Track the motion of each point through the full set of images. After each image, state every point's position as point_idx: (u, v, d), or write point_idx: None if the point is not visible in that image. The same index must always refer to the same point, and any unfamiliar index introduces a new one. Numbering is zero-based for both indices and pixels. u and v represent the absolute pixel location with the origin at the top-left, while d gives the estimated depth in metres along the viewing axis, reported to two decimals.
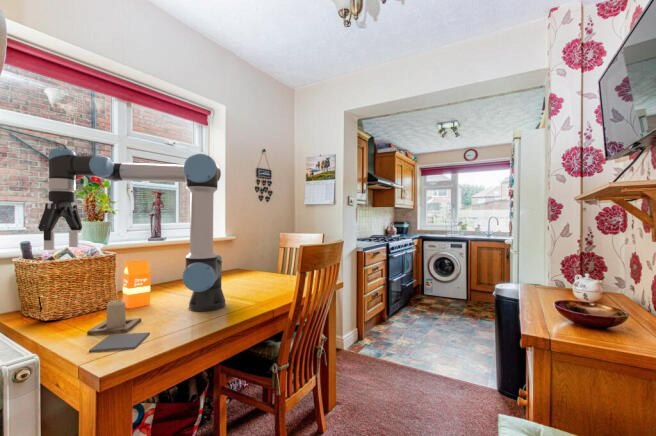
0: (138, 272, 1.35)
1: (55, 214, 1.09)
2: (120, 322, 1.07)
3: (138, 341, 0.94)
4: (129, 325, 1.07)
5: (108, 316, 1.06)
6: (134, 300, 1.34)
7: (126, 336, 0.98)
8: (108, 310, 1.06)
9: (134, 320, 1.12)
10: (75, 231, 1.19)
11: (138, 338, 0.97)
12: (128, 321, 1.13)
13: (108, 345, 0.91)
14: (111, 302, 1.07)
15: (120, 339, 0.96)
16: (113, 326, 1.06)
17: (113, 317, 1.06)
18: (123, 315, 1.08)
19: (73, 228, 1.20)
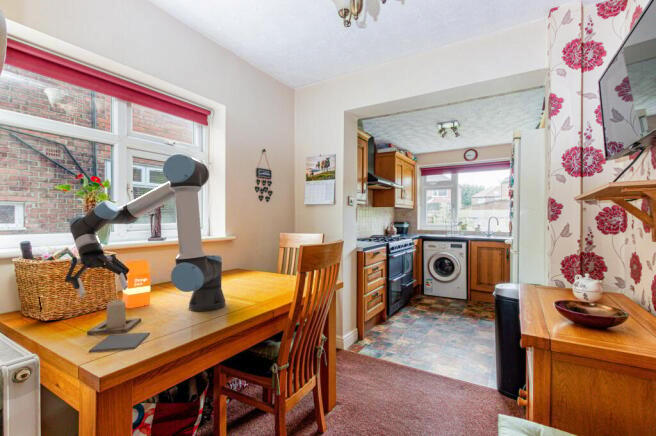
0: (138, 272, 1.35)
1: (83, 266, 1.13)
2: (120, 322, 1.07)
3: (138, 341, 0.94)
4: (129, 325, 1.07)
5: (108, 316, 1.06)
6: (134, 300, 1.34)
7: (126, 336, 0.98)
8: (108, 310, 1.06)
9: (134, 320, 1.12)
10: (120, 274, 1.19)
11: (138, 338, 0.97)
12: (128, 321, 1.13)
13: (108, 345, 0.91)
14: (111, 302, 1.07)
15: (120, 339, 0.96)
16: (113, 326, 1.06)
17: (113, 317, 1.06)
18: (123, 315, 1.08)
19: None
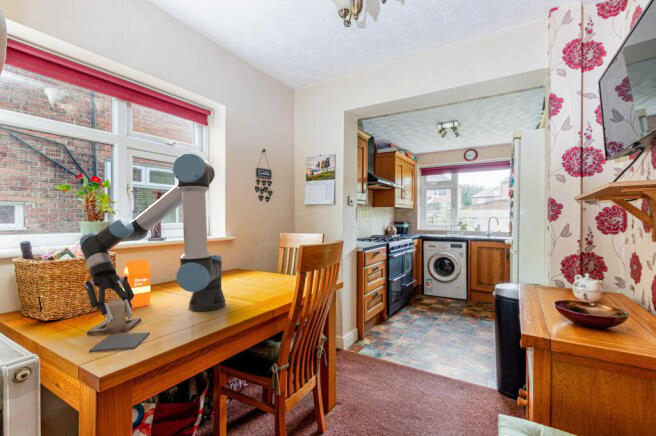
0: (138, 272, 1.35)
1: (100, 289, 1.09)
2: (120, 322, 1.07)
3: (138, 341, 0.94)
4: (129, 325, 1.07)
5: None
6: (134, 300, 1.34)
7: (126, 336, 0.98)
8: None
9: (134, 320, 1.12)
10: (124, 301, 1.11)
11: (138, 338, 0.97)
12: (128, 321, 1.13)
13: (108, 345, 0.91)
14: (111, 302, 1.07)
15: (120, 339, 0.96)
16: (113, 326, 1.06)
17: (113, 317, 1.06)
18: (123, 315, 1.08)
19: (125, 300, 1.12)
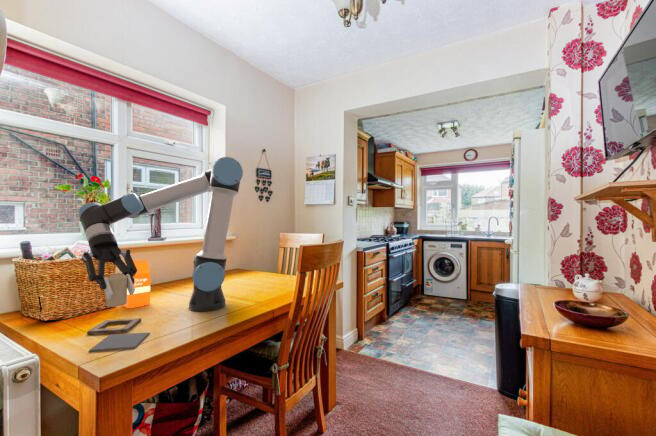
0: (138, 272, 1.35)
1: (99, 261, 0.98)
2: (120, 298, 0.96)
3: (138, 341, 0.94)
4: (129, 325, 1.07)
5: None
6: (134, 300, 1.34)
7: (126, 336, 0.98)
8: None
9: (134, 320, 1.12)
10: (126, 276, 0.99)
11: (138, 338, 0.97)
12: (128, 321, 1.13)
13: (108, 345, 0.91)
14: (111, 276, 0.96)
15: (120, 339, 0.96)
16: (113, 302, 0.95)
17: (113, 292, 0.95)
18: (124, 291, 0.97)
19: None
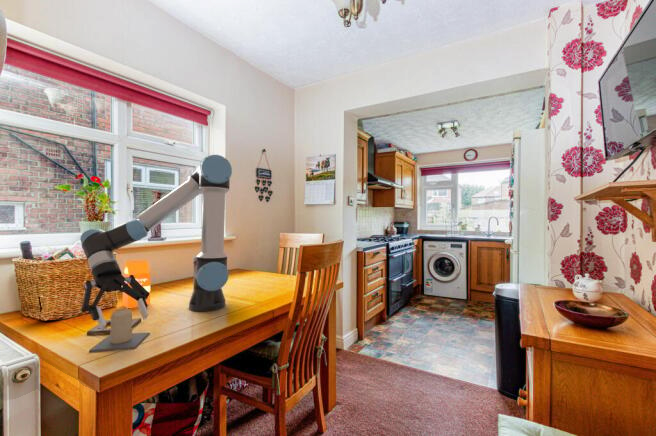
0: (138, 272, 1.35)
1: None
2: (125, 334, 0.94)
3: (138, 341, 0.94)
4: None
5: (112, 328, 0.93)
6: (134, 300, 1.34)
7: None
8: (112, 321, 0.93)
9: (134, 320, 1.12)
10: (139, 300, 1.00)
11: (138, 338, 0.97)
12: None
13: (108, 345, 0.91)
14: (116, 312, 0.94)
15: None
16: (118, 339, 0.92)
17: (118, 329, 0.93)
18: (129, 326, 0.95)
19: (139, 299, 1.02)
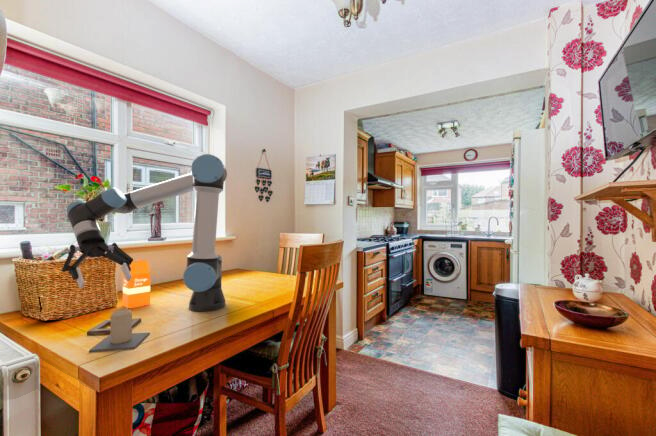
0: (138, 272, 1.35)
1: (82, 254, 1.03)
2: (125, 334, 0.94)
3: (138, 341, 0.94)
4: None
5: (112, 328, 0.92)
6: (134, 300, 1.34)
7: None
8: (112, 321, 0.93)
9: (134, 320, 1.12)
10: (123, 264, 1.09)
11: (138, 338, 0.97)
12: None
13: (108, 345, 0.91)
14: (116, 312, 0.94)
15: None
16: (118, 339, 0.92)
17: (118, 329, 0.93)
18: (129, 326, 0.95)
19: None
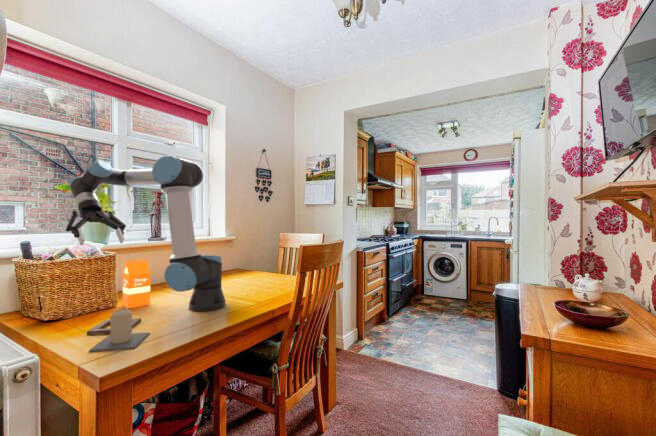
0: (138, 272, 1.35)
1: None
2: (125, 334, 0.94)
3: (138, 341, 0.94)
4: None
5: (112, 328, 0.92)
6: (135, 300, 1.34)
7: None
8: (112, 321, 0.93)
9: (134, 320, 1.12)
10: (117, 229, 1.29)
11: (138, 338, 0.97)
12: None
13: (108, 345, 0.91)
14: (116, 312, 0.94)
15: None
16: (118, 339, 0.92)
17: (118, 329, 0.93)
18: (129, 326, 0.95)
19: None
